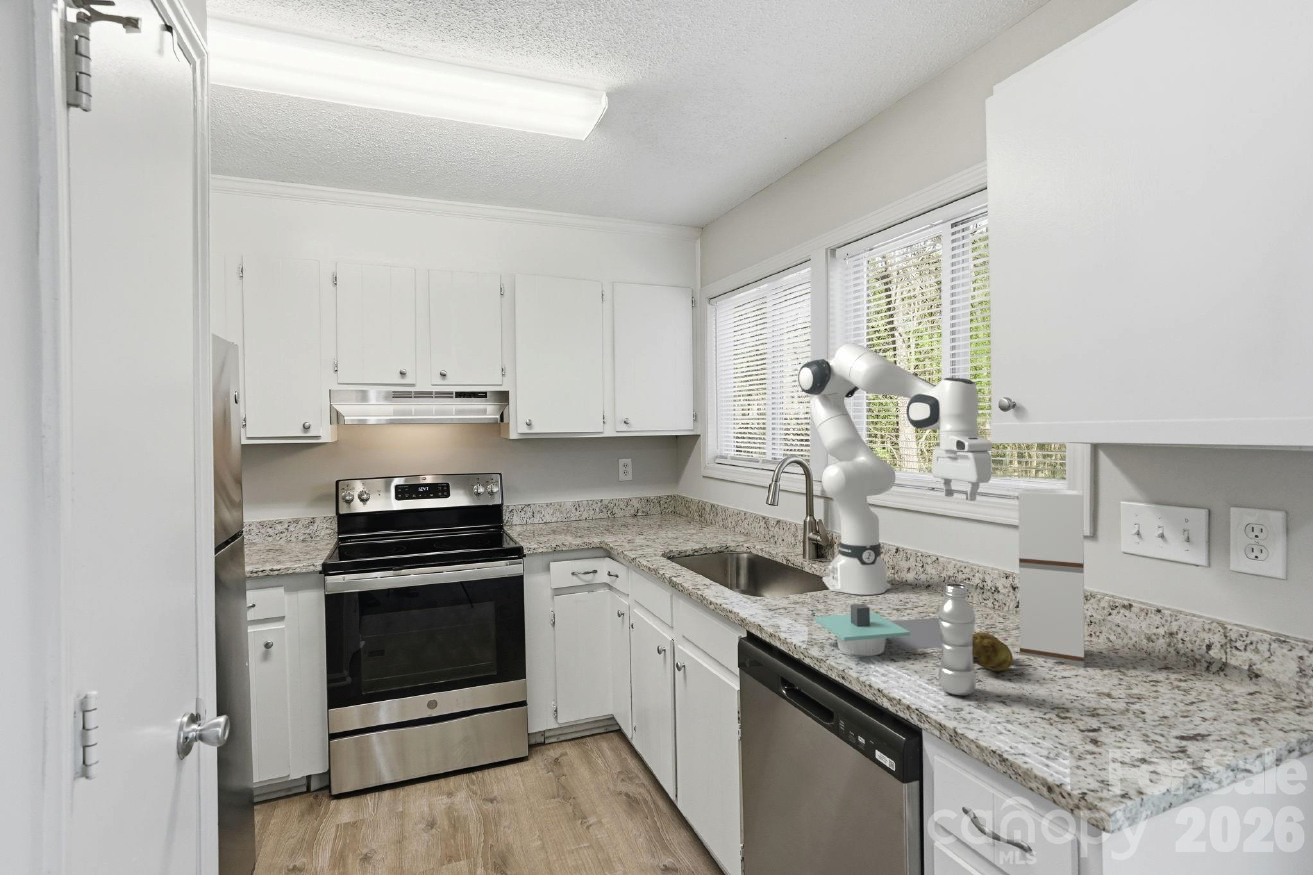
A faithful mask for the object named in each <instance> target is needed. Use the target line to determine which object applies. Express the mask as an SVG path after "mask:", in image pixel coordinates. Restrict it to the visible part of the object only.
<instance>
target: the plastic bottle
mask: <svg viewBox="0 0 1313 875" xmlns="http://www.w3.org/2000/svg"><path fill="white" fill-rule="evenodd" d="M944 595H945V596H946V598H945V599H944V600H943V601H942V603H941V605H940V606H938V607H939V608H938V611H937V616H938V617H937V618H939V624H940V630H941V641H942V647H941V651H940V652H941V654H940V664H939V669H938V675H937V676H938V681H939V685H940V687H941V689H942V690H943V691H944V692H945V693H948V694H951V695H956V696H970V695H972V694H973V692H974V691H975V690H976V687H977V675H976V670H975V666H974V665H975V664H974V663H973V653H972V647H973V646H972V644H973V634H974V632H975V625H976V624H975V622H976V614H975V610H974V608H973V607H972V605H971V603H969V601H968V599H967V597H968V587H967V585H966V584H963V583H957V582H956V583H955V582H950V583H946V584H945V591H944Z"/></svg>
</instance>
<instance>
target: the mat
mask: <svg viewBox="0 0 1313 875" xmlns="http://www.w3.org/2000/svg"><path fill="white" fill-rule="evenodd" d="M890 621H891V622H893V623H895V624H897V625H898V626H900V627H902V628H904V629H906V630H907V631H909V632H910V636H901V637H889V638H886V639H888V640H889V641H891V642H892V643H893V644H895V645H896V646H898V648H901V649H902V650H905V651H906V650H918V649H919V650H920V649H931V648H932V649H933V648H934V649H935V648H942V641H941V630H940V624H939V617H937V618H936V617H934V618H916V619H902V620H901V619H898V620H890Z"/></svg>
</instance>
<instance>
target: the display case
mask: <svg viewBox="0 0 1313 875" xmlns="http://www.w3.org/2000/svg"><path fill="white" fill-rule="evenodd" d="M1021 490H1022V492H1018V494H1017V495H1018V496H1017V497H1018V505H1017V506H1018V584H1019V585H1018V586H1019V587H1018V588H1019V589H1018V594H1019V595H1018V596H1019V606H1018V607H1019V608H1018V609H1019V655H1021V656H1025V657H1026V656H1027V657H1032V658H1039V659H1046V660H1052V661H1054V662H1052V663H1053V664H1061V665H1066V666H1071V667H1072V666H1073V667H1079V668H1085V648H1086V647H1085V562H1084V561H1085V553H1084V552H1085V551H1084V549H1085V546H1084V545H1085V543H1084V542H1085V540H1084V539H1085V538H1084V536H1085V535H1084V534H1085V532H1084V524H1085V522H1084V489H1079V490H1078V489H1058V488H1057V489H1053V488H1025V487H1024V488H1022V489H1021ZM1055 661H1056V662H1055Z"/></svg>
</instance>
